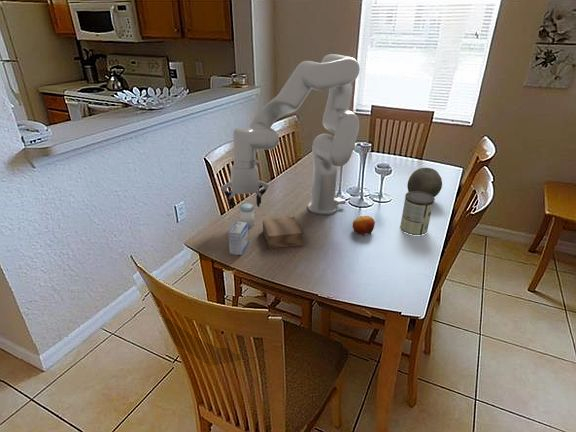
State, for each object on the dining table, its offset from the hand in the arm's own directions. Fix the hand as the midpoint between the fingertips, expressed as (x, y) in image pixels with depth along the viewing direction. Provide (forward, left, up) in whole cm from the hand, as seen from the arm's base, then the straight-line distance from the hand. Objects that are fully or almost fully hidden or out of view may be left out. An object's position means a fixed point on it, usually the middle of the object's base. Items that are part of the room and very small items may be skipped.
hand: (245, 206), depth 140 cm
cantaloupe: (-80, -7, -9) cm, 80 cm away
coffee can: (-63, +16, -9) cm, 65 cm away
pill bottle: (-1, 0, -8) cm, 8 cm away
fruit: (-43, +14, -9) cm, 46 cm away
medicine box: (+4, +16, -9) cm, 19 cm away
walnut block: (-12, +12, -8) cm, 19 cm away
